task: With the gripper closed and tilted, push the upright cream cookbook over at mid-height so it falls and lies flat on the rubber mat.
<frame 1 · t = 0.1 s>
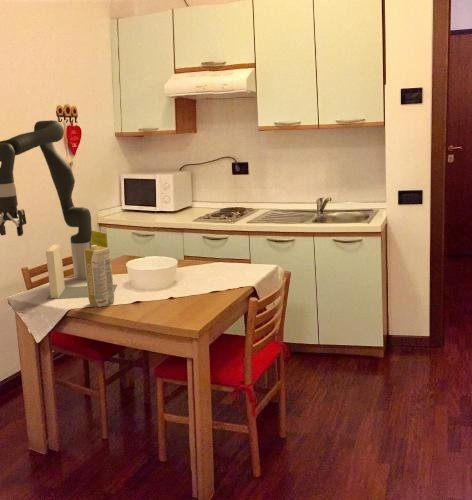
hand: (11, 235, 254), 29 cm above the table, tool pointing down, fingers open, 8 cm apart
food package: (101, 273, 309), on the table
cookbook: (58, 293, 275), resting on mat
juice carton: (102, 304, 258), on the table
mat: (82, 292, 276), on the table
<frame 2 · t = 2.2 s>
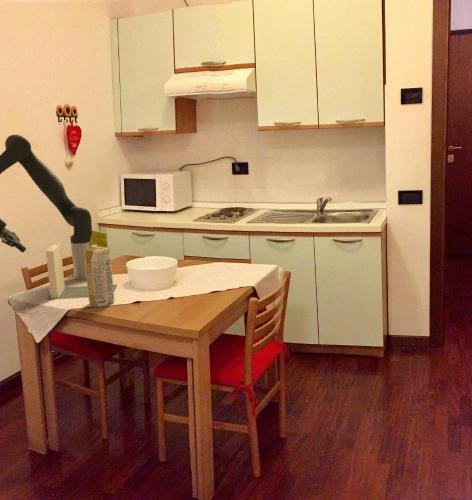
hand: (24, 250, 270), 20 cm above the table, tool tilted 45°, fingers closed
nothing on the table moved.
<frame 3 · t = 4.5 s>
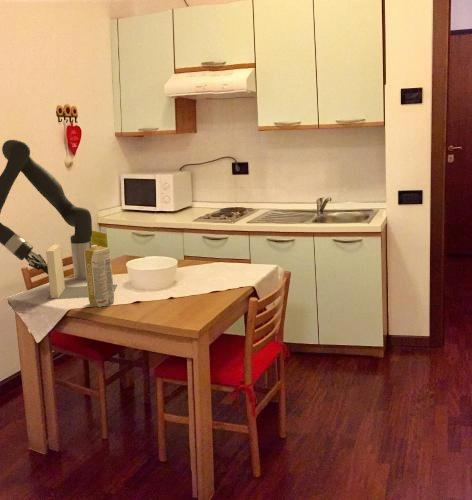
hand: (51, 273, 273), 9 cm above the table, tool tilted 45°, fingers closed
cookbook: (58, 293, 275), resting on mat, touching gripper
everything else where it was.
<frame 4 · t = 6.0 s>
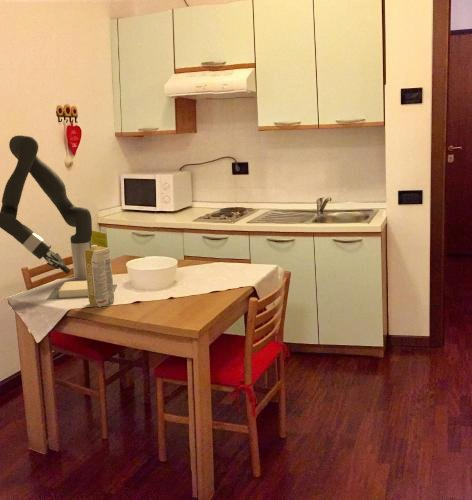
hand: (69, 272, 273), 9 cm above the table, tool tilted 45°, fingers closed
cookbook: (62, 289, 275), point 2 cm above the table, tilted 90°, touching mat
everything else where it was.
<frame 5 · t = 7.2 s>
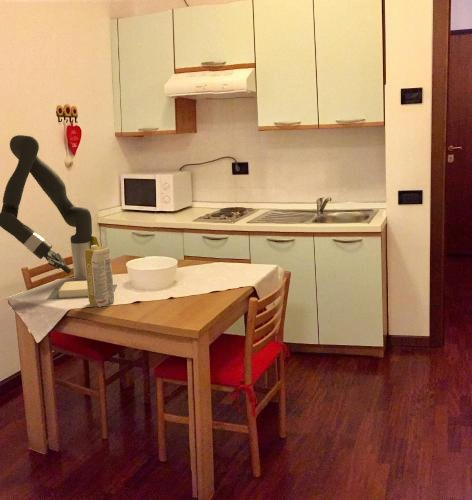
hand: (70, 272, 273), 9 cm above the table, tool tilted 45°, fingers closed
food package: (101, 273, 309), on the table, touching arm
everything else where it was.
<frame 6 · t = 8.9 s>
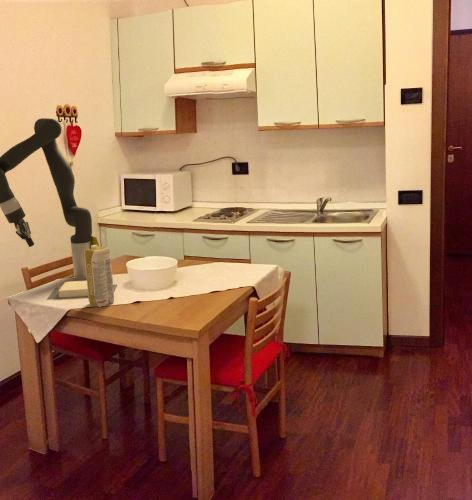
hand: (32, 245, 274), 21 cm above the table, tool tilted 20°, fingers closed
nothing on the table moved.
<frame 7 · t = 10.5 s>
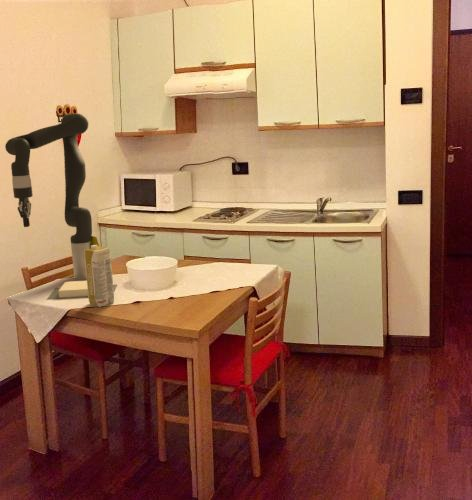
hand: (26, 226, 274), 29 cm above the table, tool pointing down, fingers closed
nothing on the table moved.
at the end: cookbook tilted 90°; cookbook touching mat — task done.
